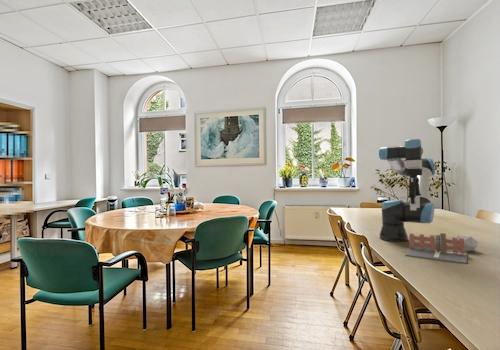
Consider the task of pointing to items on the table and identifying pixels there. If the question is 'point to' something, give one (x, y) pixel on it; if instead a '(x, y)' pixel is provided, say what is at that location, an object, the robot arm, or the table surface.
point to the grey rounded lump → (468, 242)
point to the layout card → (437, 255)
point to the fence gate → (422, 239)
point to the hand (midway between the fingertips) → (415, 209)
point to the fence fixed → (453, 241)
